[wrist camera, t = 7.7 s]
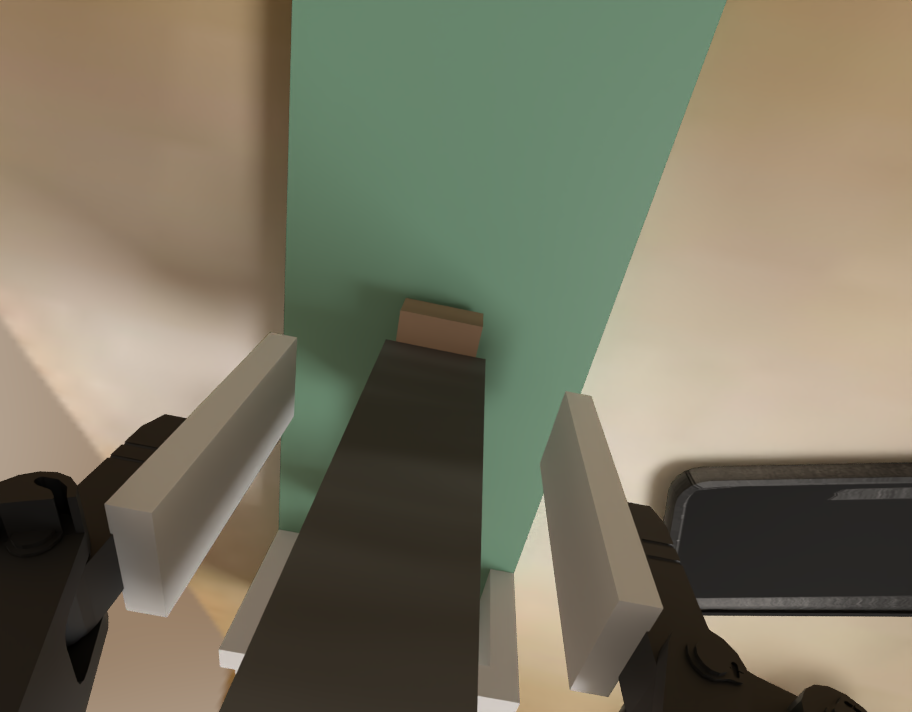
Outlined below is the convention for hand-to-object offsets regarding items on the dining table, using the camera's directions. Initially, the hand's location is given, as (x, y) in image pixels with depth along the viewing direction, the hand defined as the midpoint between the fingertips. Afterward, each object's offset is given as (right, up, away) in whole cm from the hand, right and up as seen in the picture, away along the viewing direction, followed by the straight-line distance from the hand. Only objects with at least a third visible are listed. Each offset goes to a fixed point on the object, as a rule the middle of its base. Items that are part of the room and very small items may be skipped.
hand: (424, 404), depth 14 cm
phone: (+17, -6, +6) cm, 19 cm away
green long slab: (0, +1, +3) cm, 3 cm away
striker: (0, -1, +3) cm, 3 cm away
